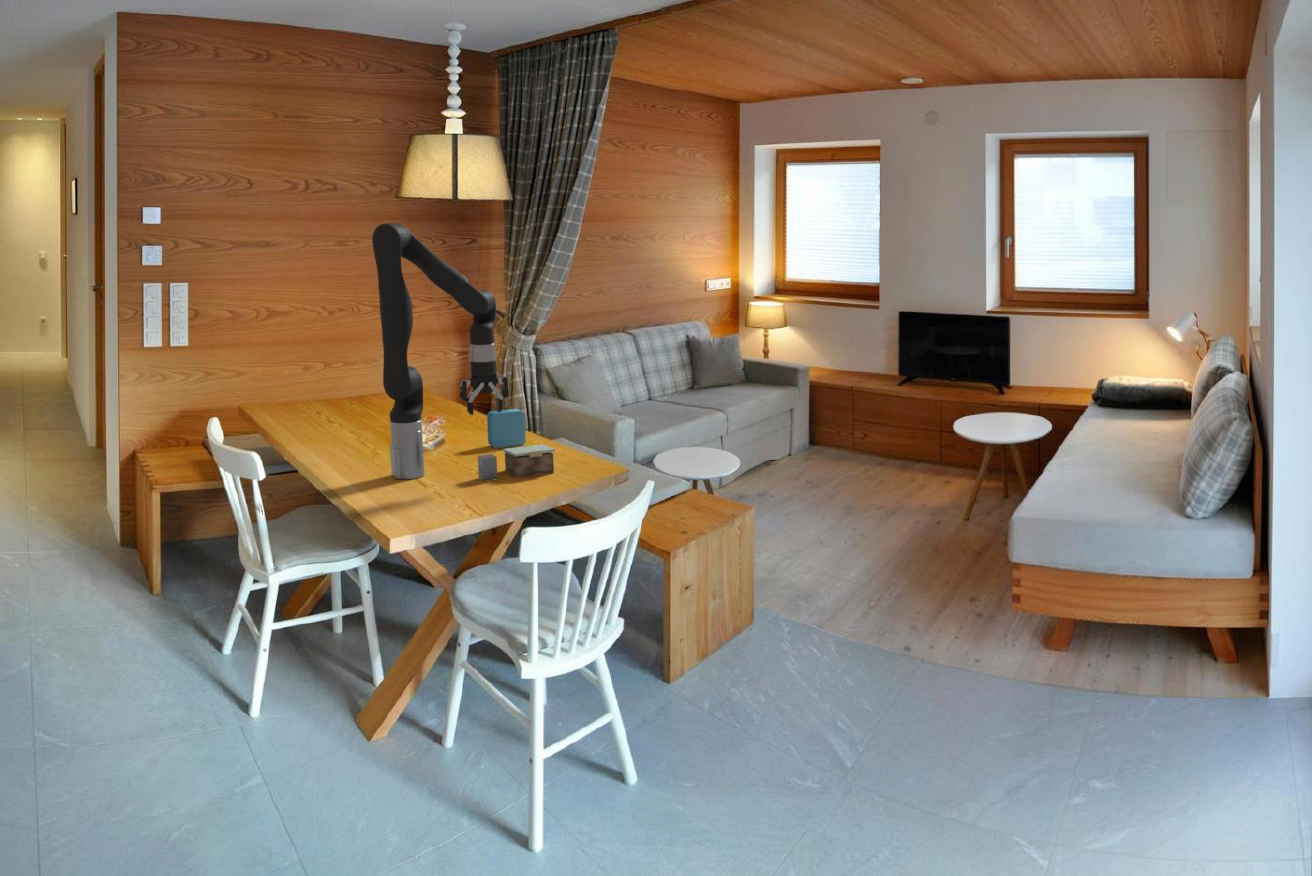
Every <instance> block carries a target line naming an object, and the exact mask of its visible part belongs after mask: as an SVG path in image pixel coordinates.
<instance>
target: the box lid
mask: <svg viewBox="0 0 1312 876" xmlns="http://www.w3.org/2000/svg"><path fill="white" fill-rule="evenodd" d="M502 450H503V452H504V453H505V452H506V453H508V454H510V455H513V456H515V457H516V456H524V455H529V457H537V456H542V453H549V452H551V453H556V450H555V448H553V447H550V446H548V445H545V444H542V443H541V444H534V445H526V446H524V445H523V446H518V447H517V446H515V447H506V448H503V449H502Z"/></svg>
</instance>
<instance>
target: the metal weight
mask: <svg viewBox="0 0 1312 876" xmlns="http://www.w3.org/2000/svg"><path fill="white" fill-rule="evenodd" d="M497 460H498V458H497V456H496V455H495V454H493V453H489V454H480V455H477V469H478V470H477V471H478V479H479V478H481V479H482V480H483V481H484V482H487V481H486V480H491V481H495V480H494V479H498V461H497ZM481 479H480V480H481ZM482 480H481V481H482ZM483 481H482V482H483Z"/></svg>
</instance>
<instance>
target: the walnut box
mask: <svg viewBox="0 0 1312 876" xmlns="http://www.w3.org/2000/svg"><path fill="white" fill-rule="evenodd" d="M504 463H505V464H504V465H505V467H504V469H505V470H504V471H506V472H508V473H509V474H510V475H512V476H513V477H515V478H516V479H517V478H525V477H526V478H527V477H531V476H540V475H547V474H548V473H549V474H554V473H553V472H554V471H555V470H554V452H549V453H542V456H537V457H529V455H524V456H516V457H515V456H513V455H510V454H508V453H506V452H504Z"/></svg>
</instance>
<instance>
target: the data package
mask: <svg viewBox="0 0 1312 876" xmlns="http://www.w3.org/2000/svg"><path fill="white" fill-rule="evenodd" d="M486 421H487V443H488V444H489V446H490V447H493V448H494V449H500V448H501V449H502V448H511V447H517V446H518V447H520V446H524V445H525V444H526V415H525V412H524V411H522V410H521V409H519V408H511V409H503V410H501V412H497V410H491V411H489V412H487V415H486ZM510 446H511V447H510Z"/></svg>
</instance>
